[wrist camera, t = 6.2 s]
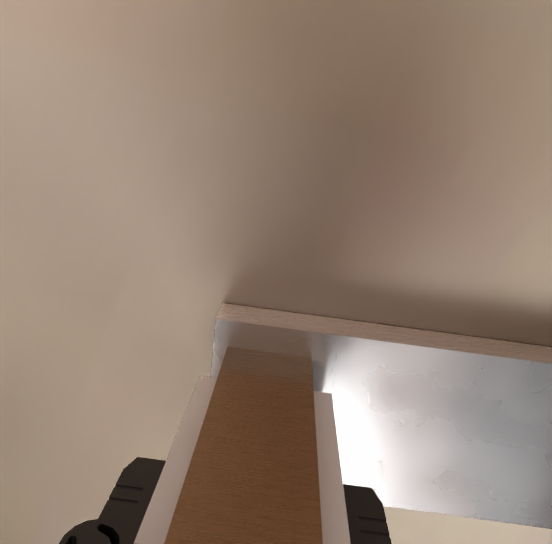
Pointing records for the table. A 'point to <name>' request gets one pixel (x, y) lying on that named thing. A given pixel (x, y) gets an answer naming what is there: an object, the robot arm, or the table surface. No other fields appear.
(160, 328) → the table surface
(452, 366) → the steel scraper
